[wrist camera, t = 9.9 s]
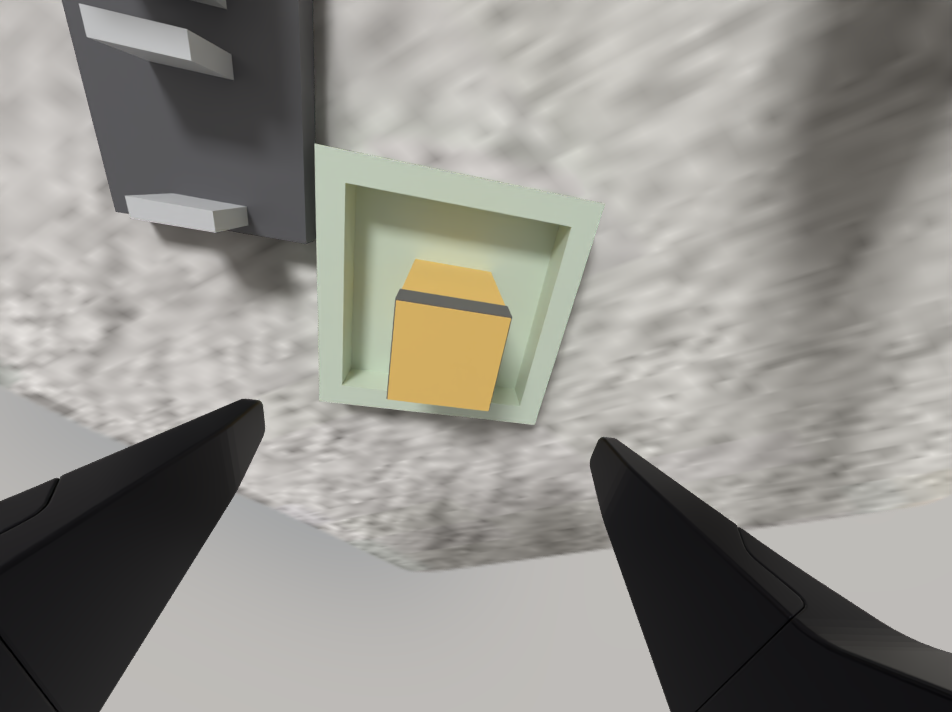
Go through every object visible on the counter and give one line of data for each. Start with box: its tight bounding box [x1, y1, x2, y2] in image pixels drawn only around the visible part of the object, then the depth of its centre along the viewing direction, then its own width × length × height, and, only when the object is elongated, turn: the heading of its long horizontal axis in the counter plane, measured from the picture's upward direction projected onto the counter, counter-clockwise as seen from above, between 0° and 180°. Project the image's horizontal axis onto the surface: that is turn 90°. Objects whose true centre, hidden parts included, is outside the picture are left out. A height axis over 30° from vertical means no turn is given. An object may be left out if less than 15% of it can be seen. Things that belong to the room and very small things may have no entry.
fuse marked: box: [386, 259, 512, 411], centre depth 16 cm, size 4×4×7 cm
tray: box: [314, 143, 605, 425], centre depth 18 cm, size 12×12×2 cm
